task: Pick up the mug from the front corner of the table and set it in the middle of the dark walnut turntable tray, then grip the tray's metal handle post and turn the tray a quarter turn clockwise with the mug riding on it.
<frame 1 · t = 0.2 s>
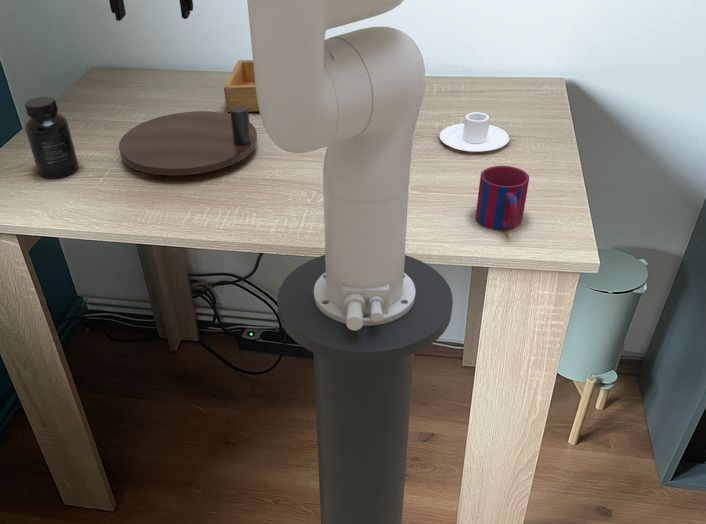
hand: (153, 17, 106), 25 cm above the table, tool pointing down, fingers open, 9 cm apart
mug: (499, 225, 106), on the table
tray: (309, 100, 146), on the table
turntable: (186, 125, 125), point 5 cm above the table, hinge at 0.0°
candle holder: (473, 141, 128), on the table
supplement bottle: (59, 171, 126), on the table
ink box: (360, 177, 119), on the table
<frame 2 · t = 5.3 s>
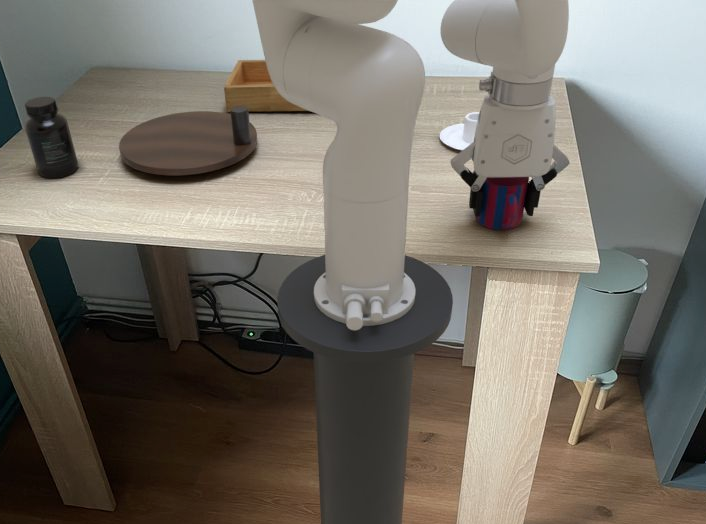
hand: (502, 210, 104), 2 cm above the table, tool pointing down, fingers closed on mug, 6 cm apart
mug: (499, 225, 106), on the table, touching gripper
everything else where it was.
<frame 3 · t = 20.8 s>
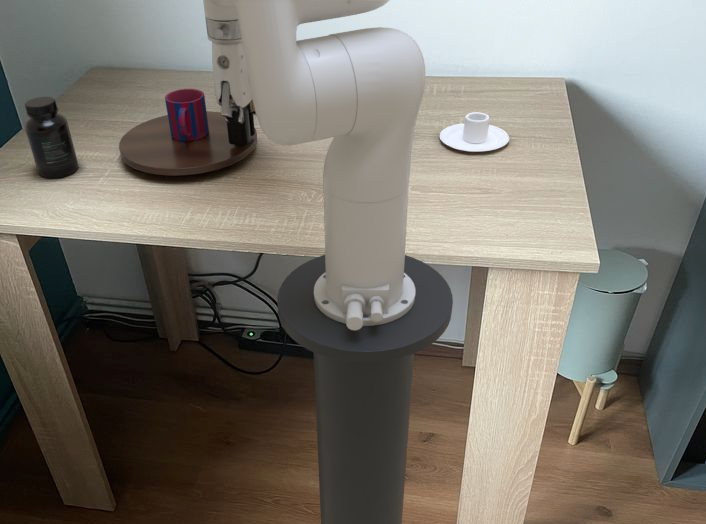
hand: (242, 138, 124), 3 cm above the table, tool pointing down, fingers closed on turntable, 3 cm apart
mug: (188, 138, 127), point 3 cm above the table, touching turntable
turntable: (186, 125, 125), point 5 cm above the table, hinge at 0.0°, touching mug, gripper
everything else where it was.
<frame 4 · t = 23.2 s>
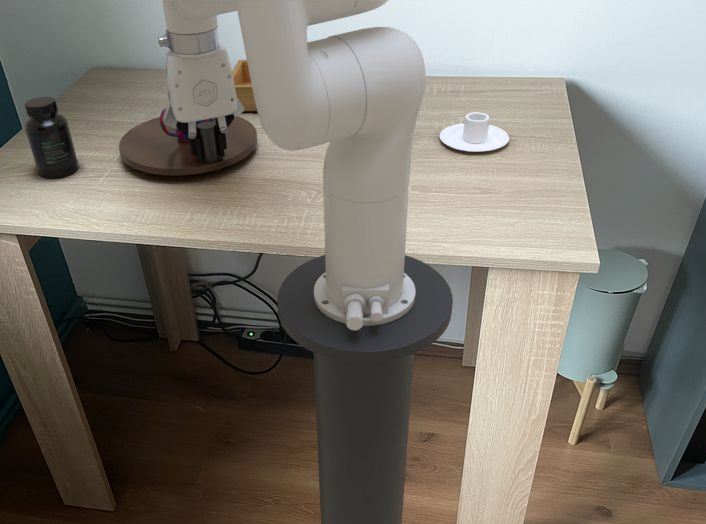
hand: (209, 155, 120), 3 cm above the table, tool pointing down, fingers closed on turntable, 3 cm apart
turntable: (186, 125, 125), point 5 cm above the table, hinge at 47.0°, touching mug, gripper
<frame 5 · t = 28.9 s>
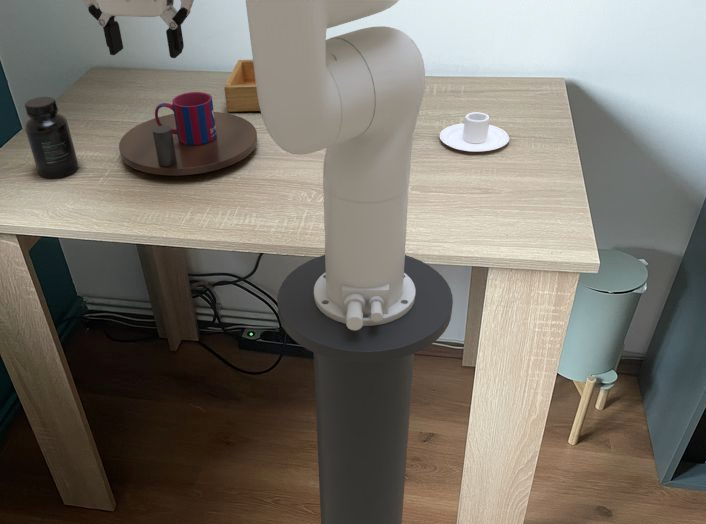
hand: (146, 53, 108), 20 cm above the table, tool pointing down, fingers open, 9 cm apart
turntable: (186, 125, 125), point 5 cm above the table, hinge at 88.0°, touching mug
at the end: turntable at +88° (first picture: +0°); mug 0.0 cm from the turntable (horizontally); mug point 2.6 cm above the table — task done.
